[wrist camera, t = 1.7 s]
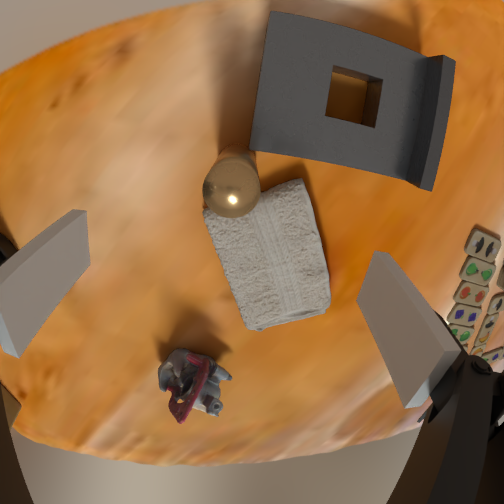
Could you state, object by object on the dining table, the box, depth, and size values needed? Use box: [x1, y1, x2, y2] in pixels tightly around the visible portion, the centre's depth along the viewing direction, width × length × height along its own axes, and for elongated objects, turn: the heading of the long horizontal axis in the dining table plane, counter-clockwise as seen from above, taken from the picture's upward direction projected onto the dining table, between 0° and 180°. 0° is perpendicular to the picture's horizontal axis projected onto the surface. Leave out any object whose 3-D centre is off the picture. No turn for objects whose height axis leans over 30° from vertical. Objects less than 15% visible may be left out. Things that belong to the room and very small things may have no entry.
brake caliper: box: [158, 348, 232, 424], centre depth 42 cm, size 11×11×12 cm
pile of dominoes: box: [447, 228, 504, 364], centre depth 40 cm, size 35×27×6 cm
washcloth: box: [203, 178, 331, 331], centre depth 36 cm, size 12×18×3 cm, turn 18°
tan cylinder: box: [203, 144, 261, 218], centre depth 26 cm, size 4×4×12 cm
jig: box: [249, 11, 456, 192], centre depth 25 cm, size 18×14×7 cm
